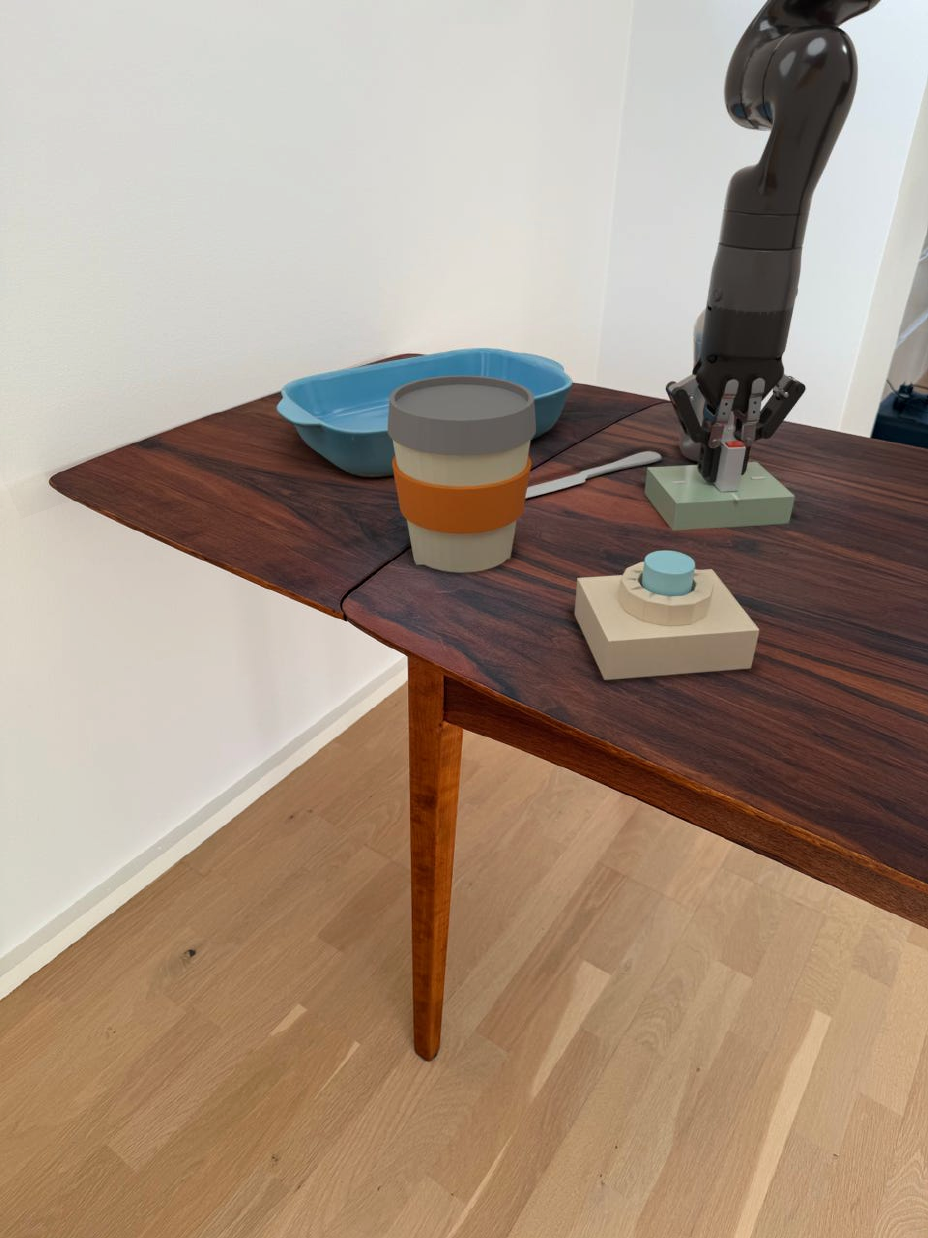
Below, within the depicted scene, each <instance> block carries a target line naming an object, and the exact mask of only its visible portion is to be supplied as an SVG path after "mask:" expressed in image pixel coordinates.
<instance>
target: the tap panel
mask: <svg viewBox="0 0 928 1238" xmlns="http://www.w3.org/2000/svg"><path fill="white" fill-rule="evenodd" d="M697 466H698V464H690V465H667V466H652V467H651V466H650V467H649V466H648V467H647V468H646V477H645V483H644V484H645V485H644V495H645V497H646V498H647V499H648V501H649V502H650V503H651V504H652V506H653V507H654V508H655V510H656V511H657V513H658V514H659V515H660V517H661V518H662V519H663V521H664V522H665V523H666V524H667V526H668V527H669V528H670V530H671V531H674V532H675V531H688V530H689V531H691V530H706V529H722V528H737V527H755V526H757V527H758V526H770V525H785V524H790V521H791V518H792V517H791V516H792V514H793V513H792V512H793V508H794V504H795V499H796V496H795V494H794V493H792V492H791V491H790V490H789V489H788V488H786V487H785V485H784V484H782V483H781V482H780V481H779V480H778V479H776V477H774V475H772V474H771V473H770V472H769V471H768V470H767V469H765V467H763V466H762V465H761V464H760V463H758V461H748V464H747V470H746V472H745V473H744V475H741V478H740V483H739V488H738V491H728V492H721V491H720V490H719V489H718V488H717V487H716V486H715V485H714V484H713V483H712V482H711V483H707V482H706V481H705V479H704V478H703V477H702V475H701V474H700V473H699V472H698V468H697Z"/></svg>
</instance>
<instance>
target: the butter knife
mask: <svg viewBox="0 0 928 1238" xmlns="http://www.w3.org/2000/svg"><path fill="white" fill-rule="evenodd" d="M662 458H663V457H662V455H661V454H660V453H658V452H656V451H651V450H649V451H642V452H638V453H634V454H633V455H629V456H627V457H624V458H621V459H619V460H616V461H614V462H611V463H607V464H604V465H601V466H597V467H593V468H589V469H585V470H582V471H580V472H578V473H576V474H572V475H568V476H565V477H561V478H558V479H553V480H550V481H546V482H543V483H539V484H536V485H532V486H527V492H526V497H525V499H528V498H533V497H536V496H540V495H544V494H548V493H551V492H555V491H558V490H559V491H560V490H562V489H566V488H570V487H572V486H576V485H580V484H583V483H585V482H586V479H587V480H588V479H591V478H594V477H599V476H601V475H605V474H608V473H612V472H616V471H620V470H626V469H630V468H637V467H641V466H646V465H650V464H651V465H652V464H654V463H658V462H660V461H661V460H662Z"/></svg>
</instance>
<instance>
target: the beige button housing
mask: <svg viewBox="0 0 928 1238" xmlns="http://www.w3.org/2000/svg"><path fill="white" fill-rule="evenodd" d="M643 568H644V561H640V562H638V563H636V564H633V565H631V566H628V567H626V568H625V570H624V572H623V574H617V575H604V576H590V577H589V576H588V577H577V580H576V591H575V604H574V616H575V618H576V621H577V623H578V625H579V628H580V630H581V632H582V634H583V636H584V638H585V641H586V643H587V645H588V647H589V650H590V651H591V654H592V656H593V658H594V661H595V663H596V665H597V667H598V670H599V671H600V673H601V677H602V678H603V680H604V681H609V680H621V679H634V678H646V677H648V678H649V677H659V676H660V677H661V676H673V675H682V674H683V675H684V674H685V675H686V674H696V673H697V674H698V673H708V672H709V673H710V672H721V671H735V670H747V669H752V666H753V661H754V656H755V652H756V648H757V643H758V637H759V633H760V629H759V628H758V626H757V625H756V623H755V622H754V621H753V619H752V618H751V617H750V615H748V613H747V612H746V611H745V610H744V608H743V606H742V605H740V603H739V601H738V600H737V599H736V598H735V597H734V595H733V594H732V593H731V591H730V590H729V589H728V588H727V586H726V585H725V584H724V582H723V581H722V580H721V578H720V577H719V576H718V575H717V574H716V572H715V571H714V570H713V568H709V569H708V568H707V569H697V568H695V570H694V576H693V582H692V588H691V591H690V593H688V594H686V595H684V596H672V597H669V596H663V595H658V594H653V593H651V592H650V591H648V590H646V589H644V588H643V587H642V576H643Z"/></svg>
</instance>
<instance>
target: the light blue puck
mask: <svg viewBox="0 0 928 1238" xmlns="http://www.w3.org/2000/svg"><path fill="white" fill-rule="evenodd" d="M643 562H644V568H643V576H642V587H643V588H644V589H646V590H648V591H650V592H651V593H653V594H658V595H663V596H669V597H672V596H684V595H686V594H688V593H690V591H691V588H692V582H693V576H694V570H695V569H696V562H695V560H694V559H693V558H692V557H691V556H689V555H687V554H685V553H683V552H679V551H676V550H666V549H665V550H664V549H663V550H655V551H652V552H649V553H648V554H647V555H646V556H645V557H644V561H643Z"/></svg>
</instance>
